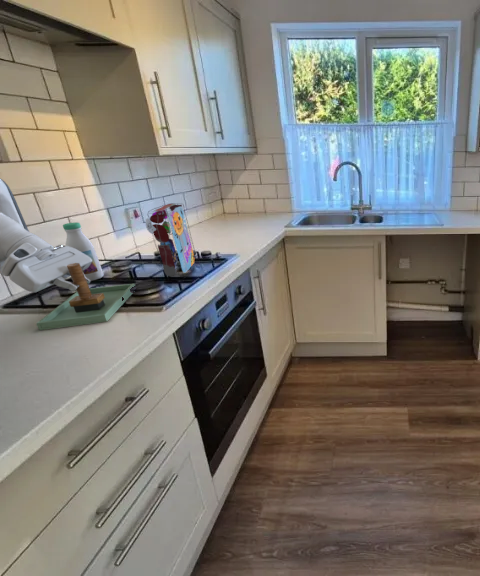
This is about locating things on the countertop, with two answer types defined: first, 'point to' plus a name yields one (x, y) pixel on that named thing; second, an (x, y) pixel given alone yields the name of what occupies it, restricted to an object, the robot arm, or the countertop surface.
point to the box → (167, 244)
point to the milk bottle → (83, 249)
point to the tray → (68, 316)
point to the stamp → (84, 292)
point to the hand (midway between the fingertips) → (82, 286)
